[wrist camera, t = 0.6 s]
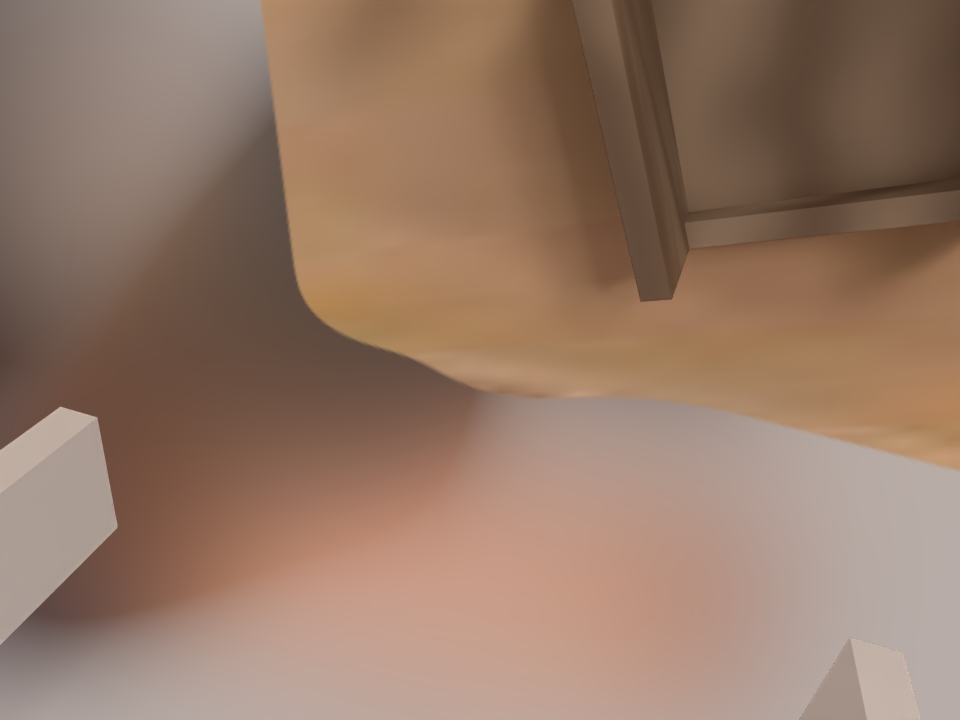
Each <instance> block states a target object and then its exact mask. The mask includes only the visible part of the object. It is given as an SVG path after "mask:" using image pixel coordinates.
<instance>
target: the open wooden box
mask: <svg viewBox="0 0 960 720" xmlns="http://www.w3.org/2000/svg"><path fill="white" fill-rule="evenodd" d="M572 4H573V8H574V13H575V17H576V21H577V26H578V30H579V34H580V39H581V43H582V48H583V52H584V56H585V61H586V65H587V69H588V74H589V78H590V83H591V87H592V91H593V96H594V100H595V104H596V109H597V113H598V117H599V122H600V126H601V131H602V135H603V139H604V144H605V148H606V152H607V157H608V161H609V165H610V170H611V174H612V179H613V183H614V187H615V192H616V196H617V200H618V205H619V209H620V213H621V218H622V222H623V227H624V231H625V235H626V240H627V244H628V248H629V253H630V257H631V262H632V266H633V270H634V275H635V279H636V283H637V288H638V292H639V296H640V301H641V302H642V301H657V300H671V299H672V297H673V294H674V291H675V288H676V286H677V283H678V280H679V277H680V274H681V271H682V268H683V265H684V262H685V260H686V257H687V254H688V251H689V249H692V248H702V247H711V246H721V245H731V244H741V243H751V242H760V241H770V240H780V239H790V238H800V237H809V236H819V235H829V234H839V233H849V232H858V231H868V230H878V229H888V228H898V227H907V226H917V225H927V224H937V223H947V222H956V221H960V0H572Z"/></svg>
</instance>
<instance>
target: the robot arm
mask: <svg viewBox="0 0 960 720" xmlns="http://www.w3.org/2000/svg"><path fill="white" fill-rule="evenodd" d="M116 528H117V521H116V516H115V511H114V505H113V499H112V494H111V489H110V484H109V479H108V473H107V467H106V462H105V457H104V452H103V446H102V441H101V435H100V430H99V425H98V420H97V417H94V416H90V415H87V414H83V413H80V412H77V411H73V410H69V409H66V408H63V407H60V408H58V409H57V410H55V411H54V412H53V413H51V414H50V415H48V416H47V417H46V418H44V419H43V420H42V421H40V422H39V423H38V424H36V425H35V426H33V427H32V428H30V429H29V430H28V431H26V432H25V433H24V434H22V435H21V436H20V437H18V438H17V439H15V440H14V441H13V442H11V443H10V444H8V445H7V446H6V447H4V448H3V449H1V450H0V644H1V643H2V642H3V641H4V640H5V639H6V638H7V637H8V636H9V635H10V634H11V633H12V632H13V631H14V630H15V629H16V628H17V627H18V626H19V625H20V624H21V623H22V622H23V621H24V620H25V619H26V618H27V617H28V616H29V615H30V614H31V613H32V612H33V611H34V610H35V609H36V608H37V607H38V606H39V605H40V604H41V603H42V602H43V601H44V600H45V599H46V598H47V597H48V596H49V595H50V594H51V593H52V592H53V591H54V590H55V589H56V588H57V587H58V586H59V585H60V584H61V583H62V582H63V581H64V580H65V579H66V578H67V577H68V576H69V575H70V574H71V573H72V572H73V571H74V570H76V569H77V567H78V566H79V565H80V564H82V562H83V561H85V560H86V558H88V556H90V554H92V553H93V551H94V550H95V549H96V548H98V547H99V545H101V543H102V542H104V540H106V538H107V537H108V536H110V535H111V533H112V532H113V531H115V529H116ZM799 720H921V717H920V714H919V710H918V707H917V703H916V699H915V696H914V693H913V688H912V685H911V681H910V678H909V674H908V670H907V667H906V663H905V660H904V656H903V653H902V652H899V651H895V650H892V649H888V648H885V647H882V646H878V645H875V644H871V643H868V642H865V641H861V640H858V639H854V638H851V637H850V638H849V640H848V641H847V643H846V644H845V646H844V648H843V650H842V651H841V653H840V654H839V656H838V657H837V659H836V661H835V662H834V664H833V666H832V667H831V669H830V670H829V672H828V674H827V675H826V677H825V679H824V680H823V682H822V683H821V685H820V687H819V688H818V690H817V692H816V693H815V695H814V696H813V698H812V700H811V701H810V703H809V705H808V706H807V708H806V709H805V711H804V713H803V714H802V716H801V717H800V719H799Z"/></svg>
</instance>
